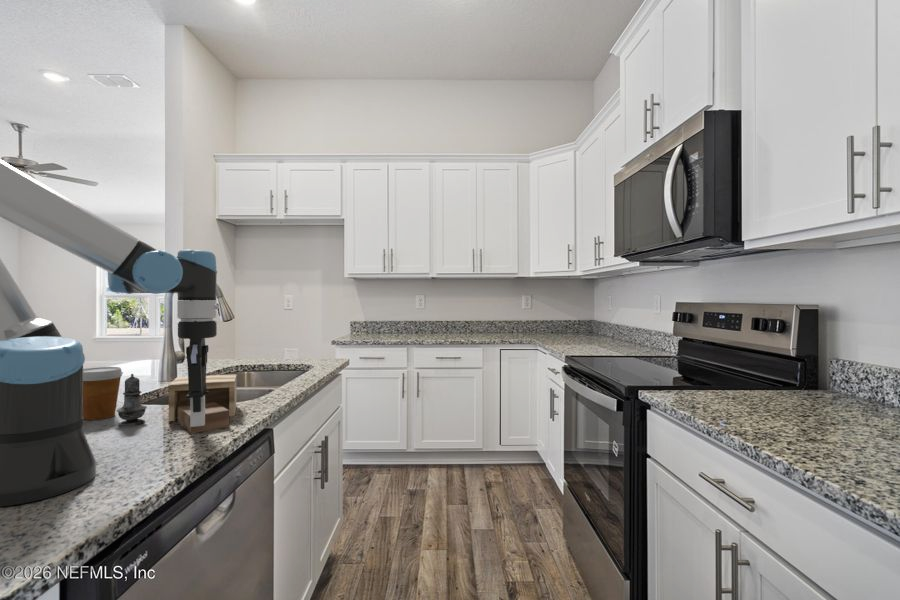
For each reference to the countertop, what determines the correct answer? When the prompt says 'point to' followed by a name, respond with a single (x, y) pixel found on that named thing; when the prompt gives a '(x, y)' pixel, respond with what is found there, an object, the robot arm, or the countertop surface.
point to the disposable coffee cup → (100, 392)
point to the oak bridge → (219, 392)
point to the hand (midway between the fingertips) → (197, 425)
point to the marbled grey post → (131, 404)
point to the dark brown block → (213, 417)
